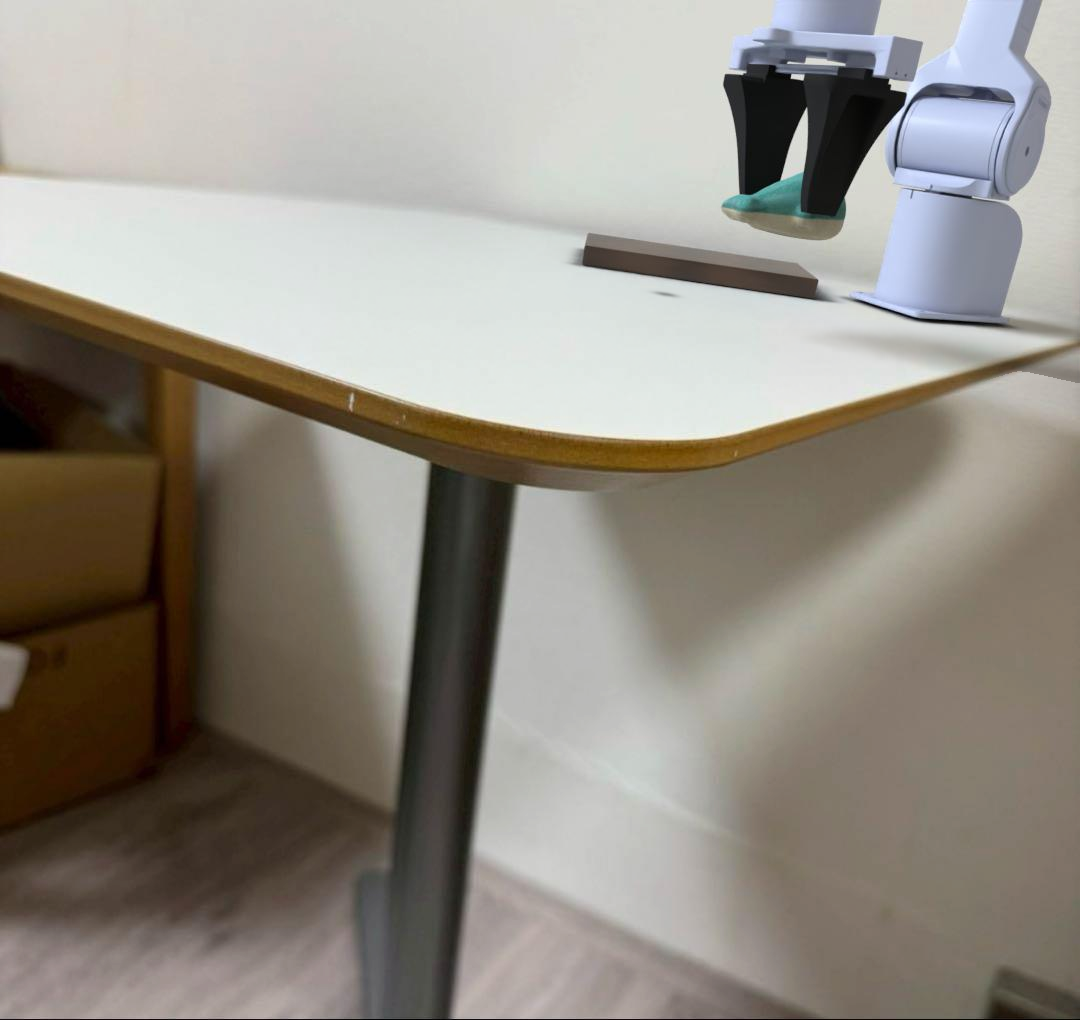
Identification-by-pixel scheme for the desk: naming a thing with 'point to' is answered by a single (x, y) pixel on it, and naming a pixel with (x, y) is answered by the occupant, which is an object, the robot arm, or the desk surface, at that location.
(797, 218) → the whale figurine
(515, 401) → the desk surface
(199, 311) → the desk surface
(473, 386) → the desk surface
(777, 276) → the walnut board
